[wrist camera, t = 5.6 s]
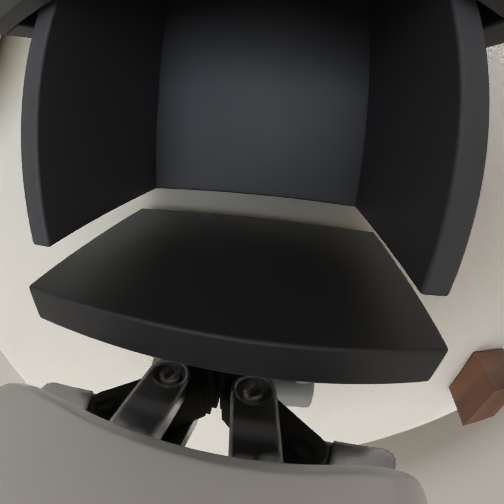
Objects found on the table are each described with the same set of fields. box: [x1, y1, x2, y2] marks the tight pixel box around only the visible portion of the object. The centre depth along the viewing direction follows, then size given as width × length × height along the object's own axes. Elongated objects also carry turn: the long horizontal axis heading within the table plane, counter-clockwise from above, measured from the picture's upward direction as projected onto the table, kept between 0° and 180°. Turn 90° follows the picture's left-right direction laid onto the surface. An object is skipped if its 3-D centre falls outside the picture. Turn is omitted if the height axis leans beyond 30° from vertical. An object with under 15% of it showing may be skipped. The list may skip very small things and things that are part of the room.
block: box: [449, 349, 504, 425], centre depth 14 cm, size 5×5×5 cm
